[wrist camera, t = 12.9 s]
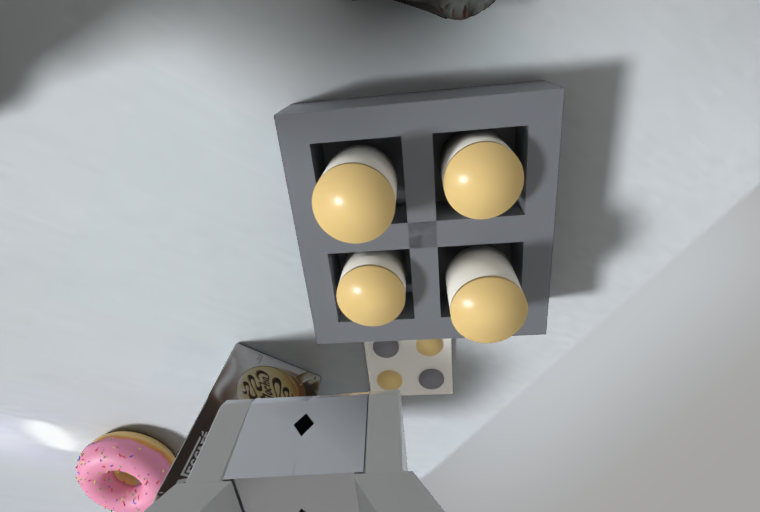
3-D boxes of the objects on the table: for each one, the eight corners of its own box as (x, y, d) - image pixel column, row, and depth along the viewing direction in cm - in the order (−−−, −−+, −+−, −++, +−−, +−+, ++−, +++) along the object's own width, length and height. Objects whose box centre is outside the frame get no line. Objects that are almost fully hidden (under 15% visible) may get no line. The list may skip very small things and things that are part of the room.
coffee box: (217, 385, 46) (130, 546, 32) (237, 340, 44) (151, 493, 29) (300, 418, 48) (252, 587, 33) (324, 376, 45) (284, 540, 31)
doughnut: (189, 435, 50) (172, 468, 46) (184, 499, 55) (167, 533, 51) (89, 413, 50) (63, 444, 46) (92, 479, 54) (69, 512, 51)
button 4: (446, 305, 36) (451, 344, 31) (444, 247, 34) (449, 280, 29) (511, 302, 35) (526, 341, 31) (513, 243, 33) (529, 276, 29)
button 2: (349, 293, 39) (341, 327, 34) (341, 240, 37) (331, 269, 32) (408, 290, 38) (407, 324, 34) (403, 236, 36) (402, 264, 32)
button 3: (440, 197, 35) (444, 221, 30) (437, 130, 32) (441, 146, 28) (507, 192, 34) (522, 216, 30) (509, 123, 32) (525, 139, 28)
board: (327, 310, 42) (317, 344, 37) (291, 104, 34) (273, 115, 29) (530, 300, 40) (546, 334, 35) (542, 80, 32) (564, 88, 28)
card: (371, 393, 46) (371, 397, 45) (362, 327, 42) (362, 330, 42) (452, 391, 45) (453, 395, 44) (450, 322, 41) (450, 326, 41)
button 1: (331, 216, 33) (318, 246, 29) (320, 147, 31) (305, 167, 26) (400, 212, 33) (398, 241, 28) (394, 141, 30) (391, 160, 26)
